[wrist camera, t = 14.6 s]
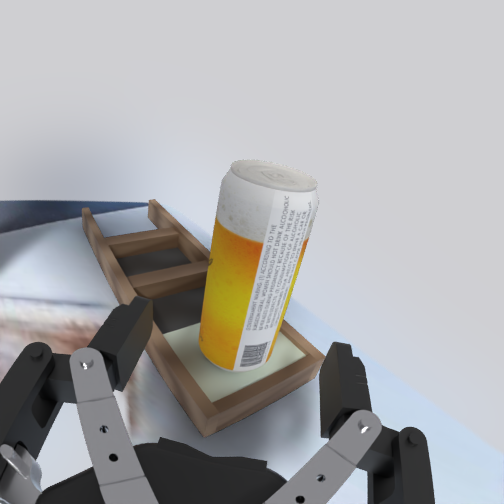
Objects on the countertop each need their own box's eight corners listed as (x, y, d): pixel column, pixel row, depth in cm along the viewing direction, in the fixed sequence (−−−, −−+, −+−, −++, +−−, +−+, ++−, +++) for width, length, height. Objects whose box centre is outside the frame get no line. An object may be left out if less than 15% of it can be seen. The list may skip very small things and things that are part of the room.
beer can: (246, 319, 30) (284, 160, 23) (283, 364, 26) (343, 191, 19) (186, 333, 27) (208, 156, 20) (218, 387, 23) (259, 190, 15)
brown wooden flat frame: (314, 377, 28) (325, 356, 27) (204, 437, 21) (207, 418, 19) (153, 216, 51) (154, 199, 50) (82, 226, 44) (81, 208, 42)
